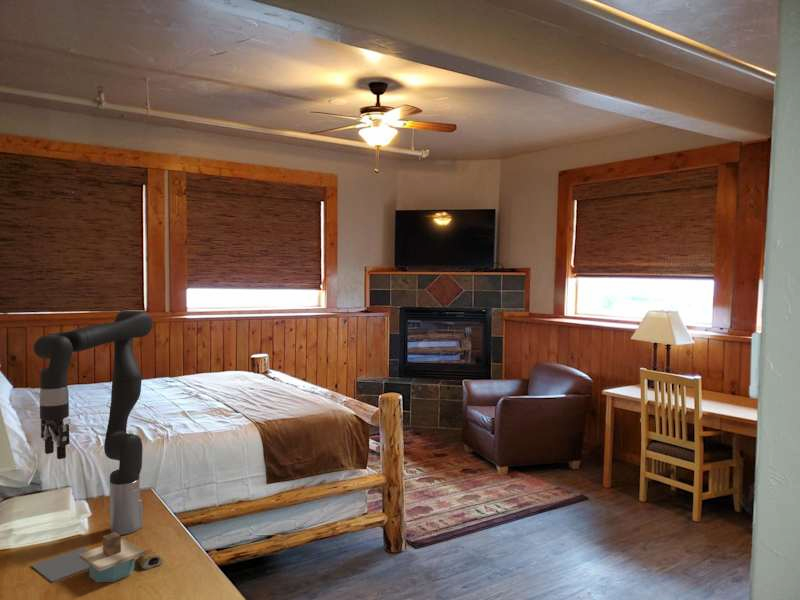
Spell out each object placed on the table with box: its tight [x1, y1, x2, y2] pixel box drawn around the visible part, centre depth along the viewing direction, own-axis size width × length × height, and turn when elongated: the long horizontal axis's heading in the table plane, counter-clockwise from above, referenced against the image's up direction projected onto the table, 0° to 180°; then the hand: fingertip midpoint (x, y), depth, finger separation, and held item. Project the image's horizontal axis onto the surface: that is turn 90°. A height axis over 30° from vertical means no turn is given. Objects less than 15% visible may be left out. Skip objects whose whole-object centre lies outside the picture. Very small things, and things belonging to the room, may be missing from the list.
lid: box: [79, 532, 145, 571], centre depth 172 cm, size 13×13×6 cm
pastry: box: [138, 549, 164, 570], centre depth 179 cm, size 9×7×4 cm
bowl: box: [89, 558, 136, 583], centre depth 173 cm, size 11×11×5 cm
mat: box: [30, 547, 90, 584], centre depth 177 cm, size 15×15×1 cm
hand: (55, 455), depth 176 cm, fingers open, 8 cm apart
